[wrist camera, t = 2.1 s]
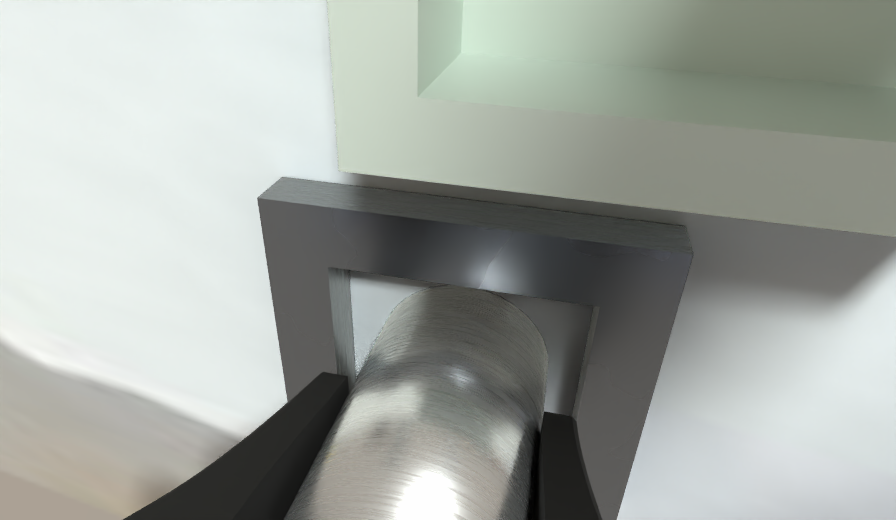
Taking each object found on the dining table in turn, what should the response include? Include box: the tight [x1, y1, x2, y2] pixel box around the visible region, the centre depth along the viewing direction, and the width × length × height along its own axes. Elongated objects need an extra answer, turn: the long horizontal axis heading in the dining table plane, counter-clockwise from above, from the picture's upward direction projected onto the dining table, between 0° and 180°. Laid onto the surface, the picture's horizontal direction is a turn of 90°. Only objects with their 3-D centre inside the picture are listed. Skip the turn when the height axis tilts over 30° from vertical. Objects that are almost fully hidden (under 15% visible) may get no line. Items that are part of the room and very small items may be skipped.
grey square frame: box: [257, 177, 693, 520], centre depth 15 cm, size 9×9×1 cm
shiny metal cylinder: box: [284, 285, 548, 520], centre depth 12 cm, size 4×4×7 cm
